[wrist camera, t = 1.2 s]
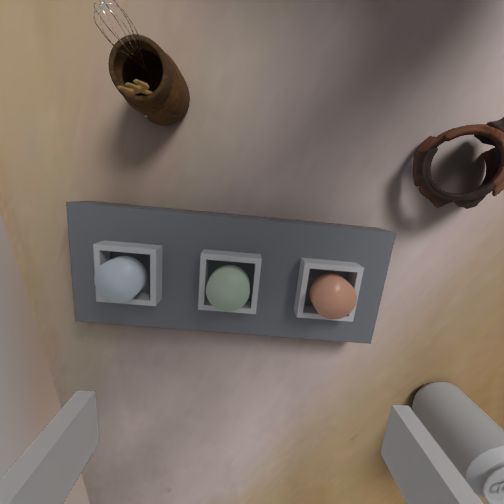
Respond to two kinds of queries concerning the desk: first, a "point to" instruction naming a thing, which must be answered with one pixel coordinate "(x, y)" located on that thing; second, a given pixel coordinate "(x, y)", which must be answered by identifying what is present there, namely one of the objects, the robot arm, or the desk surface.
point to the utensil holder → (147, 77)
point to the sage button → (228, 288)
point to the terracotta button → (332, 296)
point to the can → (464, 437)
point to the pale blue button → (120, 278)
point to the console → (226, 253)
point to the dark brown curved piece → (497, 159)
